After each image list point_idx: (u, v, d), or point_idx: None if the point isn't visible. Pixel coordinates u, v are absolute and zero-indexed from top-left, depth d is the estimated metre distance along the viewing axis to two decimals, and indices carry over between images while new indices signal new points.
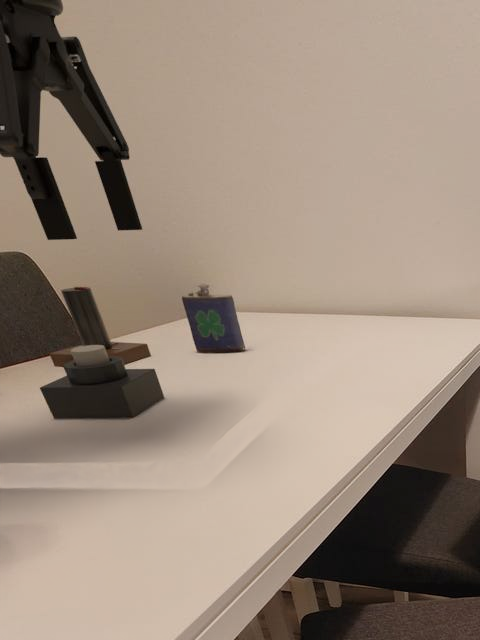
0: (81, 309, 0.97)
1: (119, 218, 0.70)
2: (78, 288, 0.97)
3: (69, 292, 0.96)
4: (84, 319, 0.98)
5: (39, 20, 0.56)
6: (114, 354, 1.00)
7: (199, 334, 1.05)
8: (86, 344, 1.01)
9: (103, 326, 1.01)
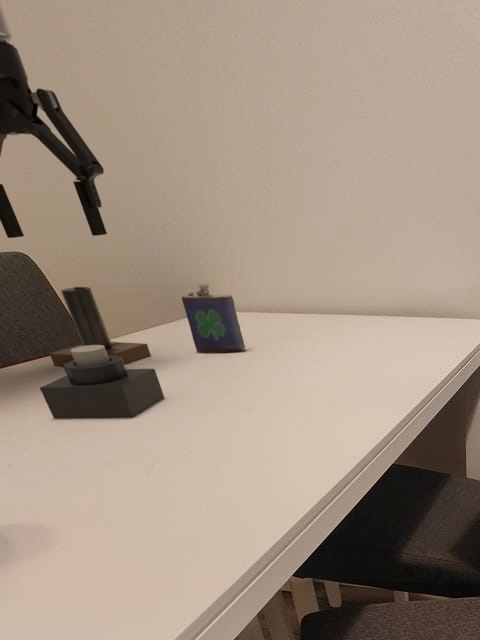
0: (81, 309, 0.97)
1: (11, 228, 0.90)
2: (78, 288, 0.97)
3: (69, 292, 0.96)
4: (84, 319, 0.98)
5: None
6: (114, 354, 1.00)
7: (199, 334, 1.05)
8: (86, 344, 1.01)
9: (103, 326, 1.01)
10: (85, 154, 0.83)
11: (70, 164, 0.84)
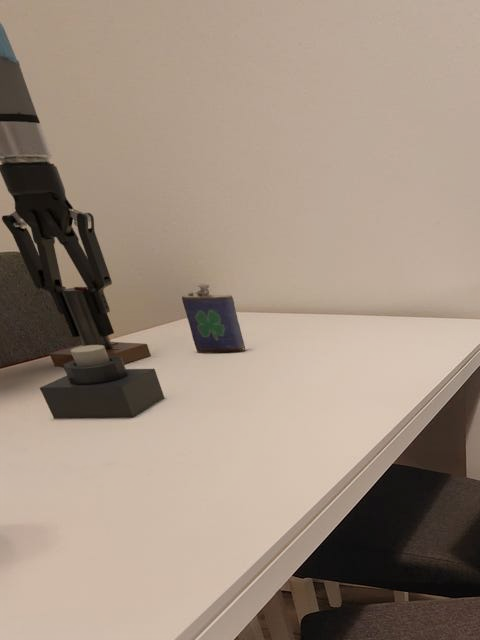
0: (81, 309, 0.97)
1: None
2: (78, 288, 0.97)
3: (69, 292, 0.96)
4: (84, 319, 0.98)
5: None
6: (114, 354, 1.00)
7: (199, 334, 1.05)
8: (86, 344, 1.01)
9: None
10: (101, 271, 0.95)
11: (86, 277, 0.95)
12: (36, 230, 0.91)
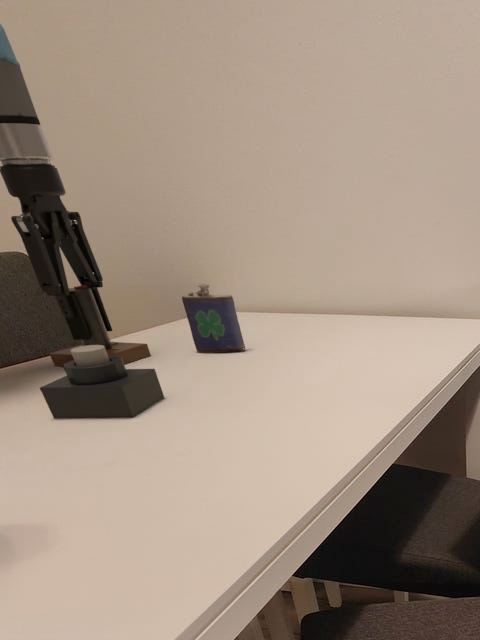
0: (97, 306, 1.00)
1: None
2: (81, 287, 0.98)
3: (89, 290, 0.98)
4: (100, 315, 1.00)
5: None
6: (114, 354, 1.00)
7: (199, 334, 1.05)
8: (106, 342, 1.02)
9: None
10: None
11: (91, 273, 0.99)
12: (56, 231, 0.91)
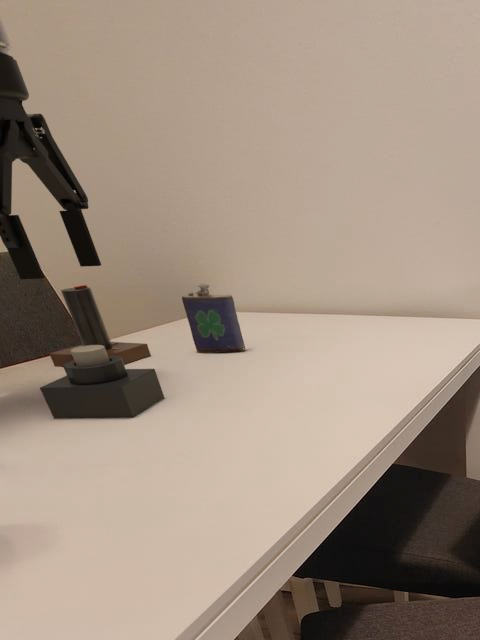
0: (97, 306, 1.00)
1: None
2: (81, 287, 0.98)
3: (89, 290, 0.98)
4: (100, 315, 1.00)
5: None
6: (114, 354, 1.00)
7: (199, 334, 1.05)
8: (106, 342, 1.02)
9: None
10: None
11: (72, 192, 0.80)
12: (13, 142, 0.69)
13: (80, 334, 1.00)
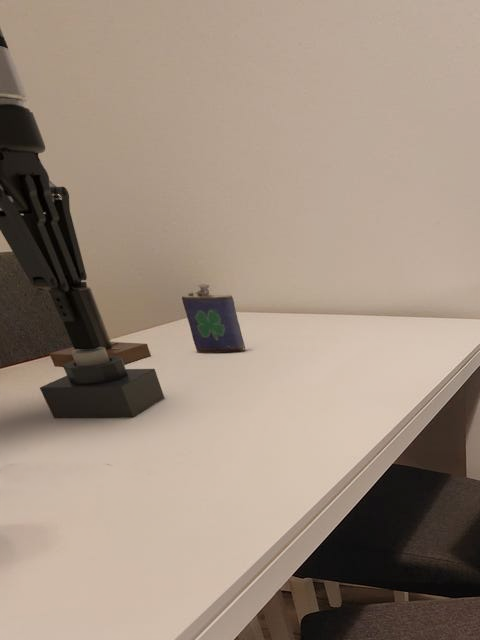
0: (97, 306, 1.00)
1: None
2: None
3: (89, 290, 0.98)
4: (100, 315, 1.00)
5: None
6: (114, 354, 1.00)
7: (199, 334, 1.05)
8: (106, 342, 1.02)
9: None
10: None
11: (73, 268, 0.72)
12: (36, 202, 0.66)
13: None
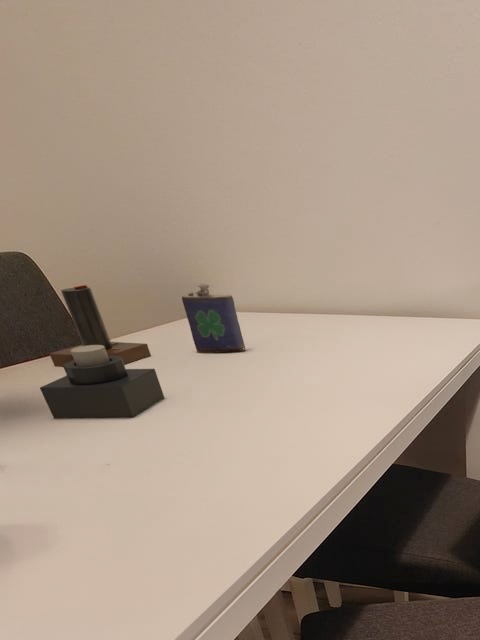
0: (97, 306, 1.00)
1: None
2: (81, 287, 0.98)
3: (89, 290, 0.98)
4: (100, 315, 1.00)
5: None
6: (114, 354, 1.00)
7: (199, 334, 1.05)
8: (106, 342, 1.02)
9: None
10: None
11: None
12: None
13: (80, 334, 1.00)
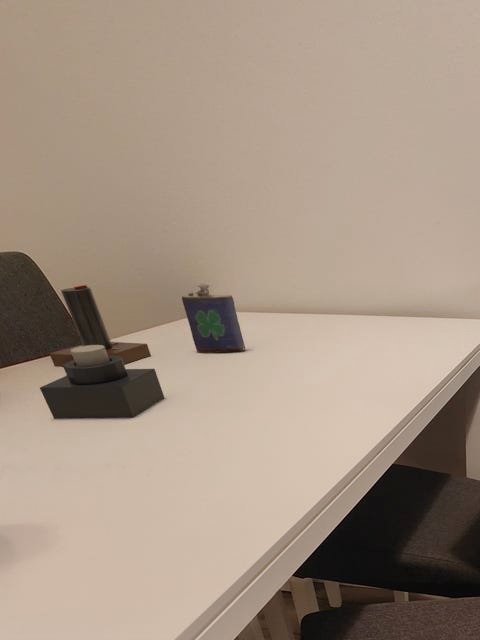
0: (97, 306, 1.00)
1: None
2: (81, 287, 0.98)
3: (89, 290, 0.98)
4: (100, 315, 1.00)
5: None
6: (114, 354, 1.00)
7: (199, 334, 1.05)
8: (106, 342, 1.02)
9: None
10: None
11: None
12: None
13: (80, 334, 1.00)
